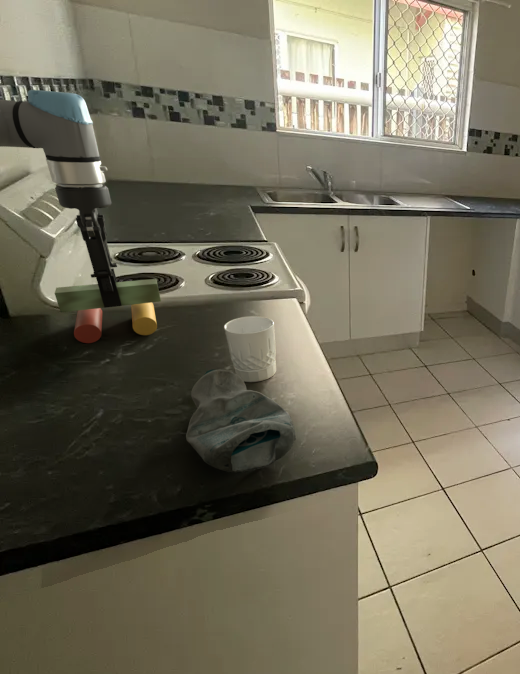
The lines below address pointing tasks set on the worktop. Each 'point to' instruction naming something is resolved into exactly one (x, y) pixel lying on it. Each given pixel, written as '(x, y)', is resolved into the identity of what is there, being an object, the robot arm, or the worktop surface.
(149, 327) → the yellow rod
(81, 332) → the red rod
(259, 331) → the white cup
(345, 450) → the worktop surface
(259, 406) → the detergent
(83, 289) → the green bar
